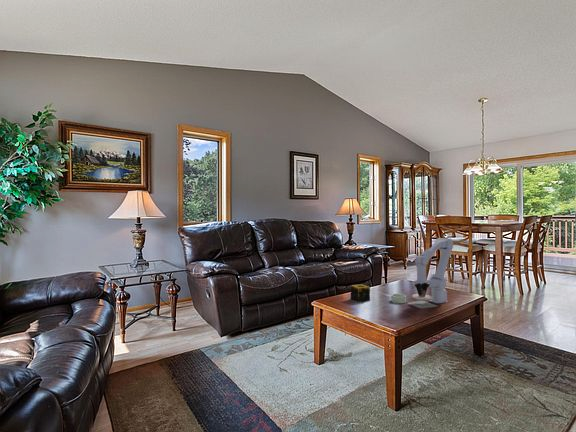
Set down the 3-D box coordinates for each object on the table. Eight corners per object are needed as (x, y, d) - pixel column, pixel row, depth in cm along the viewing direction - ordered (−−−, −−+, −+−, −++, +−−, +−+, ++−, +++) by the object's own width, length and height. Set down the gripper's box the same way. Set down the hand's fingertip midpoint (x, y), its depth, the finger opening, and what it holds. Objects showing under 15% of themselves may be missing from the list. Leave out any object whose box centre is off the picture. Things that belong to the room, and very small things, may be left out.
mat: (422, 301, 221) (422, 300, 221) (438, 306, 208) (438, 306, 208) (406, 303, 216) (406, 302, 216) (421, 309, 203) (421, 308, 203)
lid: (422, 294, 220) (422, 287, 220) (436, 298, 209) (436, 291, 208) (408, 295, 216) (408, 289, 216) (421, 300, 204) (421, 293, 204)
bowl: (399, 299, 226) (399, 293, 226) (409, 303, 218) (409, 296, 218) (388, 301, 223) (388, 294, 223) (397, 304, 214) (397, 297, 214)
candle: (350, 299, 230) (350, 285, 230) (362, 297, 234) (362, 283, 234) (358, 302, 221) (357, 288, 221) (370, 301, 224) (370, 286, 224)
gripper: (417, 276, 206) (417, 297, 206) (434, 274, 211) (435, 294, 211) (409, 274, 212) (409, 294, 213) (426, 272, 217) (427, 292, 217)
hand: (421, 294), depth 212 cm, fingers closed on lid, 3 cm apart
